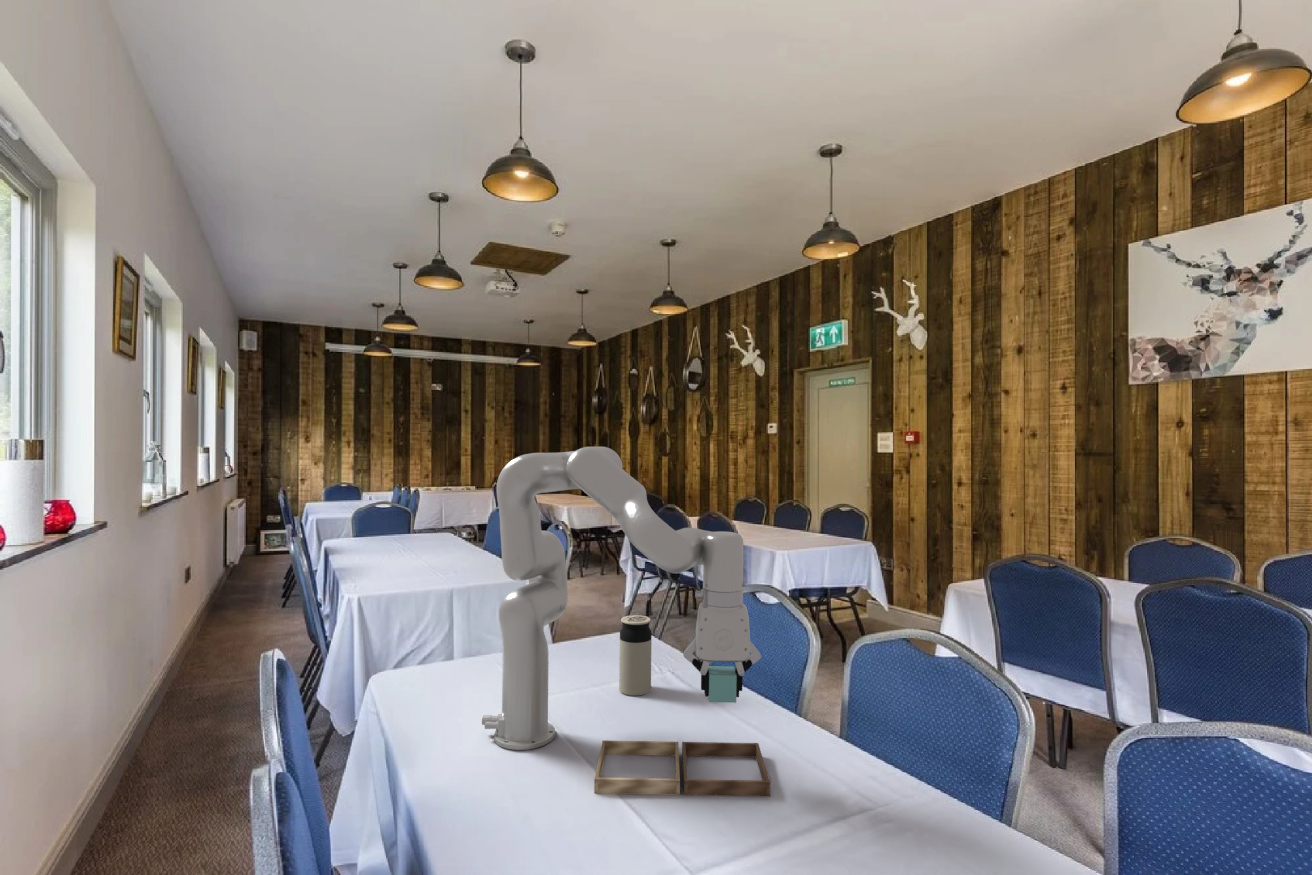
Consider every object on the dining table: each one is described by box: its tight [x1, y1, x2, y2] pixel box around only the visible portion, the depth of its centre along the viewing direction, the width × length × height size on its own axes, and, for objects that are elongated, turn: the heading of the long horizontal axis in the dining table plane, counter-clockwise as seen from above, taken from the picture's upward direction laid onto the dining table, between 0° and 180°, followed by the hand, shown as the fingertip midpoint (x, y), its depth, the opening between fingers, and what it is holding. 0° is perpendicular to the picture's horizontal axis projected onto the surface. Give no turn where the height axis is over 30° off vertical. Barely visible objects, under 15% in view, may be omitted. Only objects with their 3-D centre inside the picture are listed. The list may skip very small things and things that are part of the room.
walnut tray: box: [681, 741, 771, 797], centre depth 124 cm, size 15×15×2 cm
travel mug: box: [618, 614, 652, 697], centre depth 166 cm, size 8×8×18 cm
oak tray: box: [593, 739, 681, 796], centre depth 125 cm, size 15×15×2 cm
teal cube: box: [708, 665, 737, 704], centre depth 125 cm, size 5×5×5 cm
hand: (721, 693), depth 125 cm, fingers closed on teal cube, 5 cm apart
